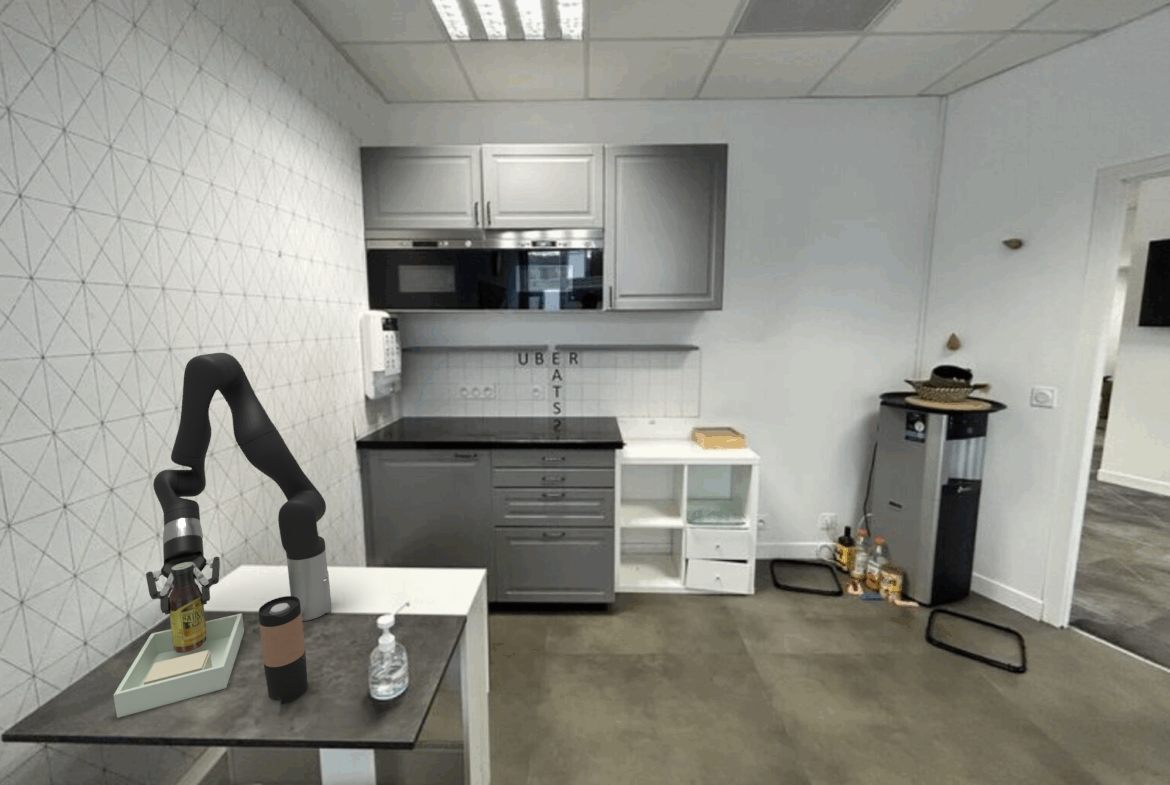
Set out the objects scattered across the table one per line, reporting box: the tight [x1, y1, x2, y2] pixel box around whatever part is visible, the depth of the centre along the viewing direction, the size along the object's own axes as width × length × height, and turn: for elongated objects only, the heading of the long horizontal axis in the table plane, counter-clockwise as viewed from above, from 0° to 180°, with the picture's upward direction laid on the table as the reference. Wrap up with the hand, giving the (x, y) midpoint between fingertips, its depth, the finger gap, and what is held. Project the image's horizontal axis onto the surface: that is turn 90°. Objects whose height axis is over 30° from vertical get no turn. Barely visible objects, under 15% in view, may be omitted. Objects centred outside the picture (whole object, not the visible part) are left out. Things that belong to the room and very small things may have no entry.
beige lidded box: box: [143, 650, 212, 685], centre depth 107 cm, size 10×7×5 cm
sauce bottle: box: [168, 562, 207, 653], centre depth 115 cm, size 7×6×20 cm
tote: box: [113, 612, 245, 719], centre depth 112 cm, size 18×22×6 cm
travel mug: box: [258, 595, 308, 705], centre depth 105 cm, size 8×8×20 cm
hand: (186, 608), depth 114 cm, fingers closed on sauce bottle, 6 cm apart
